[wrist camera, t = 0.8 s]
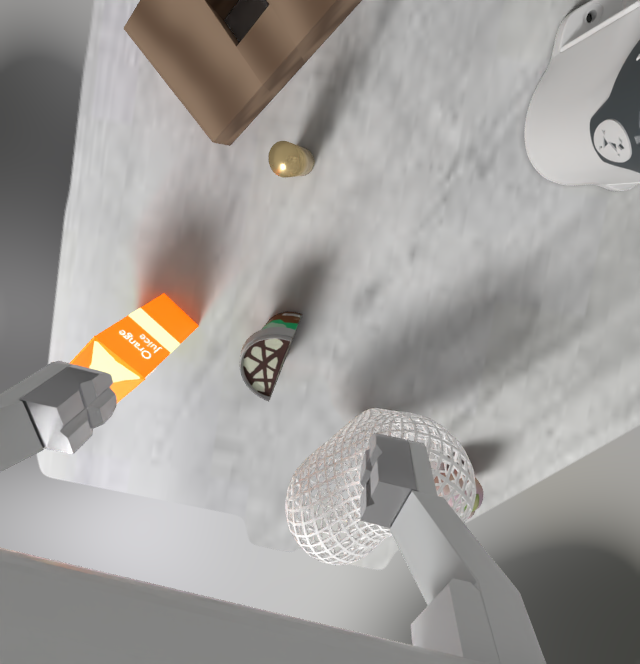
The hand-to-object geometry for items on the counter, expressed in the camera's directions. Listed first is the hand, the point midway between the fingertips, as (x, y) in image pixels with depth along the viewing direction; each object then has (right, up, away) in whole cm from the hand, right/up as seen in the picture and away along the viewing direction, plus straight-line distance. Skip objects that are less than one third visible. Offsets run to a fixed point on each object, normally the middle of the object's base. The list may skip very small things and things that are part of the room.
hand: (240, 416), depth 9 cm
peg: (0, +24, +28) cm, 37 cm away
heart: (+12, -12, +46) cm, 49 cm away
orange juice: (-24, +4, +42) cm, 49 cm away
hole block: (-5, +35, +22) cm, 42 cm away
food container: (-5, +3, +40) cm, 41 cm away
